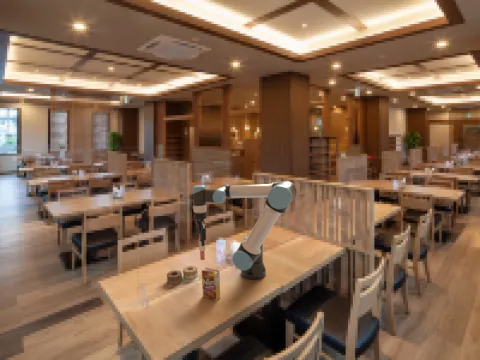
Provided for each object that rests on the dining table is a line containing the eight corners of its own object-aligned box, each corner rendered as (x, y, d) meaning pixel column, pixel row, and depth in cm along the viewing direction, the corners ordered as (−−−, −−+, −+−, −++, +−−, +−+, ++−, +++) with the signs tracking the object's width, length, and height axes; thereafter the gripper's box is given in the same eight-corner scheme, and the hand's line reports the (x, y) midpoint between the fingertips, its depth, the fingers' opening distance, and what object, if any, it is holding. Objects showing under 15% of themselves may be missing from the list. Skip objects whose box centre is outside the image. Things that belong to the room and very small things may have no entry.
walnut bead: (179, 277, 177) (179, 269, 176) (183, 283, 170) (182, 275, 169) (166, 280, 173) (165, 272, 173) (169, 286, 166) (168, 278, 165)
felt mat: (195, 272, 183) (195, 272, 183) (199, 280, 174) (199, 279, 174) (165, 279, 175) (165, 278, 175) (169, 287, 166) (169, 286, 166)
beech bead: (195, 272, 183) (194, 264, 182) (198, 277, 175) (198, 270, 175) (182, 275, 179) (182, 267, 179) (185, 280, 172) (185, 272, 171)
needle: (204, 258, 178) (202, 232, 176) (205, 259, 176) (204, 233, 174) (199, 258, 177) (198, 233, 175) (201, 260, 175) (199, 234, 172)
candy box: (202, 297, 156) (201, 270, 153) (206, 293, 159) (205, 266, 157) (216, 301, 151) (215, 273, 149) (220, 297, 155) (219, 270, 152)
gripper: (190, 209, 177) (192, 246, 181) (197, 215, 164) (199, 255, 167) (202, 208, 180) (204, 244, 184) (210, 213, 167) (212, 253, 170)
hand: (202, 249), depth 176 cm, fingers closed on needle, 2 cm apart
